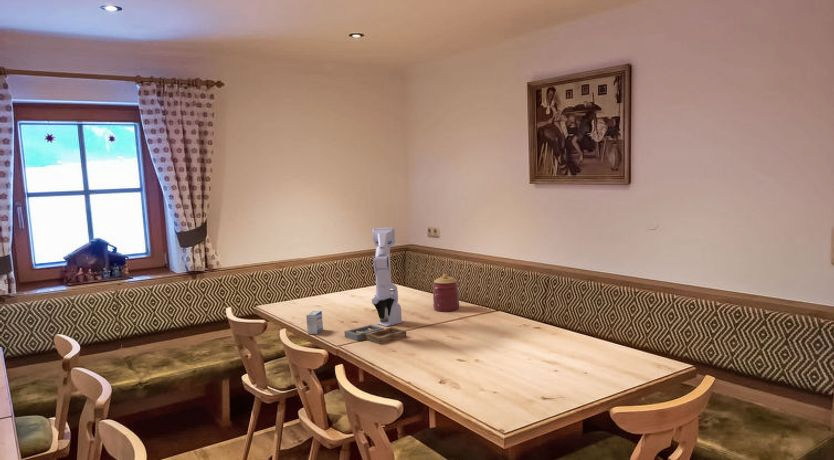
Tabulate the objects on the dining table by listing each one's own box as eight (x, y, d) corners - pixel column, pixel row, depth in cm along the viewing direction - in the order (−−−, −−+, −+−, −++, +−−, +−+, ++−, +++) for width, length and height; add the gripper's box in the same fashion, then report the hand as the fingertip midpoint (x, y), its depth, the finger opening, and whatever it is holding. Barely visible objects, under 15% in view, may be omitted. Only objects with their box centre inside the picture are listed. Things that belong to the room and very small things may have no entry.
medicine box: (316, 334, 261) (315, 315, 261) (307, 334, 262) (306, 314, 261) (323, 329, 269) (322, 310, 268) (313, 329, 270) (312, 310, 269)
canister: (464, 307, 299) (462, 272, 297) (451, 313, 288) (450, 277, 286) (441, 305, 306) (440, 270, 304) (428, 310, 295) (426, 275, 293)
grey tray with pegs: (371, 329, 265) (371, 323, 264) (384, 333, 257) (383, 326, 257) (344, 336, 256) (344, 329, 255) (357, 340, 248) (356, 333, 248)
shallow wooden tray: (392, 332, 259) (391, 326, 259) (406, 336, 251) (406, 331, 251) (365, 339, 250) (364, 333, 250) (379, 344, 242) (378, 338, 242)
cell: (383, 320, 252) (381, 305, 252) (390, 320, 251) (389, 305, 250) (378, 322, 249) (377, 307, 249) (386, 322, 248) (384, 307, 247)
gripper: (384, 281, 257) (386, 312, 258) (364, 287, 244) (366, 320, 246) (398, 282, 253) (400, 313, 254) (379, 288, 241) (381, 322, 242)
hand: (384, 317), depth 250 cm, fingers closed on cell, 4 cm apart
